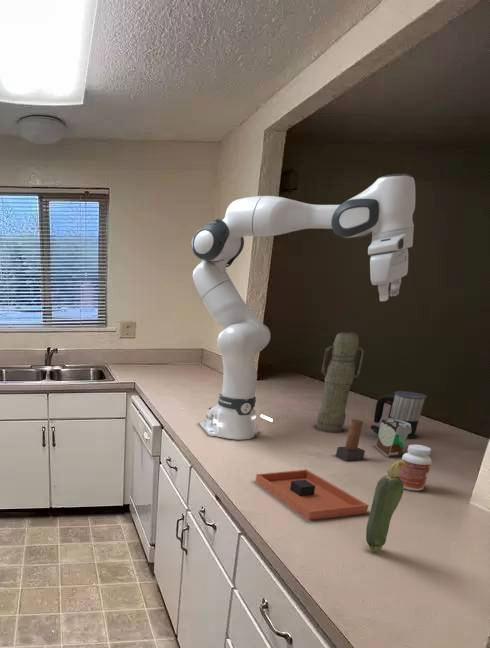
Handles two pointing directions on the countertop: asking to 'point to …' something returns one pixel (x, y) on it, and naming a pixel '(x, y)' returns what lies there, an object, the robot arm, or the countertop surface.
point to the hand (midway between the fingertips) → (389, 298)
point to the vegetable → (384, 506)
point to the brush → (352, 443)
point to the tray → (315, 506)
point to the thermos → (338, 381)
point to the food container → (392, 436)
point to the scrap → (302, 487)
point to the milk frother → (401, 409)
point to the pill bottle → (415, 467)
